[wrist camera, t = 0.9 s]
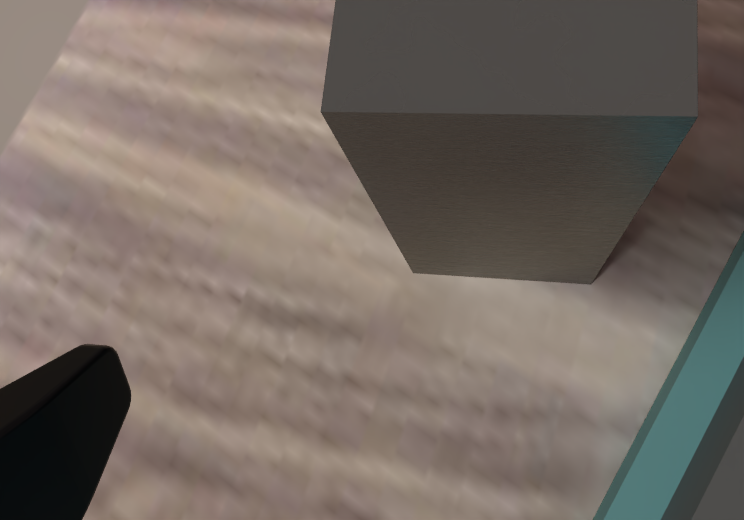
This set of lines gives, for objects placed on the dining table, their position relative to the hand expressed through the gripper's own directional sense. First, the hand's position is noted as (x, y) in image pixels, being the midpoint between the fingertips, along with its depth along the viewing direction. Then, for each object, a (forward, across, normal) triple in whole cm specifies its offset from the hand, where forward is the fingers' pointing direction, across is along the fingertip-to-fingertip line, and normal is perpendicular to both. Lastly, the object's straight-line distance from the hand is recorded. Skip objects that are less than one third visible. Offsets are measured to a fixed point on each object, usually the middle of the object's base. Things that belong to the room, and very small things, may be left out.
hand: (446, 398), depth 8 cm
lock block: (+15, 0, +5) cm, 16 cm away
